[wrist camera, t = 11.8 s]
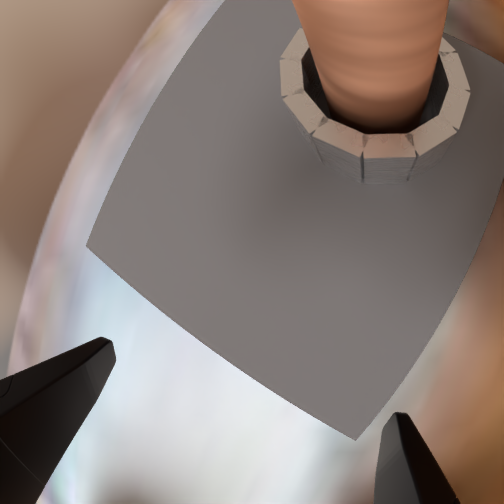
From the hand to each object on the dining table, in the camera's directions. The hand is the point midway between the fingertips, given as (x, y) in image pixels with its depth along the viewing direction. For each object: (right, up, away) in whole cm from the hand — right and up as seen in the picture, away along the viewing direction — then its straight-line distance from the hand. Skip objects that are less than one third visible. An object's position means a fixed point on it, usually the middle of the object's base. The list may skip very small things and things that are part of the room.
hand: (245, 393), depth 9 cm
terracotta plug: (+7, +12, +6) cm, 15 cm away
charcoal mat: (+3, +10, +9) cm, 13 cm away
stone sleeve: (+7, +12, +6) cm, 15 cm away
